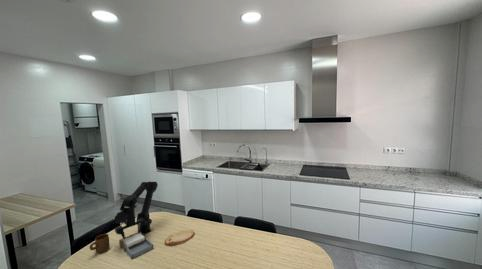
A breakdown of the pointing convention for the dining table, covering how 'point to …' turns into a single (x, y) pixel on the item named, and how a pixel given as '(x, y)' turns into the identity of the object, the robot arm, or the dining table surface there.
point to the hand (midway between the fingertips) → (131, 237)
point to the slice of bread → (179, 238)
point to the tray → (139, 249)
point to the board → (132, 245)
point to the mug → (101, 243)
